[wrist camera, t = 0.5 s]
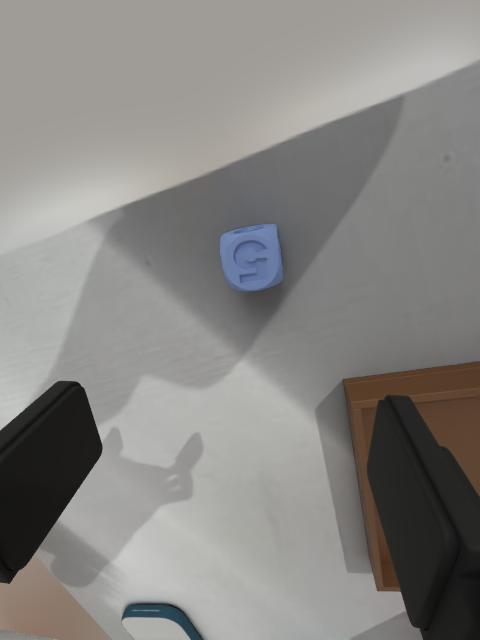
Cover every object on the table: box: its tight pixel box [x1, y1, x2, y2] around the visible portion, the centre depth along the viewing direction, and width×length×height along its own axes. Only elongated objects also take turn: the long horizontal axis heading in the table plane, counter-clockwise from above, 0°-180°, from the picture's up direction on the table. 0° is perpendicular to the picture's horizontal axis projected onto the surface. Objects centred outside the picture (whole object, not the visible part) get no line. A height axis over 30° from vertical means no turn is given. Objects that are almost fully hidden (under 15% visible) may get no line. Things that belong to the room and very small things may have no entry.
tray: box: [343, 362, 480, 592], centre depth 29 cm, size 28×18×3 cm, turn 15°
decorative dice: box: [220, 224, 284, 291], centre depth 22 cm, size 4×4×4 cm
